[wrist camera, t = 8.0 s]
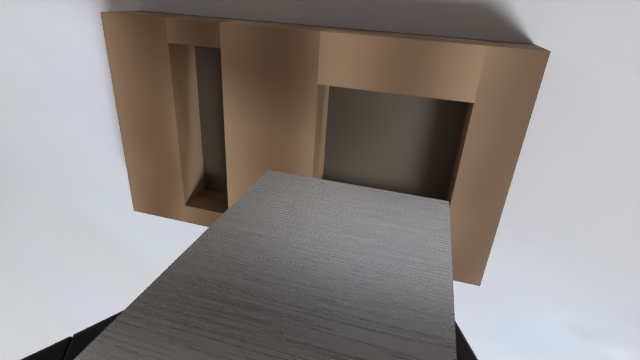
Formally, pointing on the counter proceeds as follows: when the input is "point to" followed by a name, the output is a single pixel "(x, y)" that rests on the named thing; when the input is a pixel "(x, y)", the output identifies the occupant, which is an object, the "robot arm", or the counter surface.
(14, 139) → the counter surface
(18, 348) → the counter surface
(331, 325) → the square bit
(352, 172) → the socket block
